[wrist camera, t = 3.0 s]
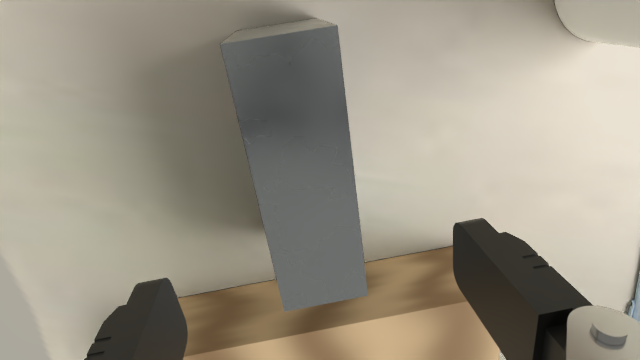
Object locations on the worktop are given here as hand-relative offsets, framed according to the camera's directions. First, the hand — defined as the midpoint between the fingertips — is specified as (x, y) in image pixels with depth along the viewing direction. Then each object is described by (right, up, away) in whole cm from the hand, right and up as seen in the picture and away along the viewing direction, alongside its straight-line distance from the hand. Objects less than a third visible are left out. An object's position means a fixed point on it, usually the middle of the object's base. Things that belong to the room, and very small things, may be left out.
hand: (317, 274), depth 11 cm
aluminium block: (-1, +5, +11) cm, 12 cm away
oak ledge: (+1, -7, +17) cm, 18 cm away
